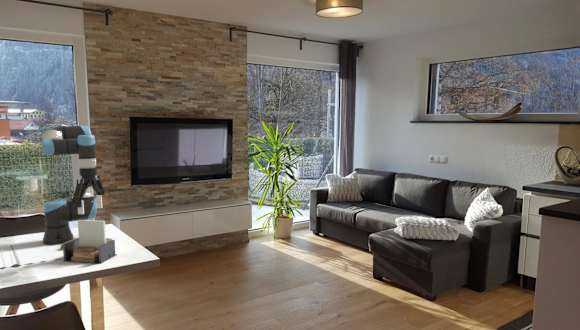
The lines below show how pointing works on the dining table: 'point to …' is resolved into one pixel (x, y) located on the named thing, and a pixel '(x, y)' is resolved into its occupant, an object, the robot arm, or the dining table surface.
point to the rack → (104, 250)
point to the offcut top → (84, 249)
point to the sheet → (91, 233)
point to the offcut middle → (87, 255)
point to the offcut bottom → (84, 259)
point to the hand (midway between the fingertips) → (90, 211)
